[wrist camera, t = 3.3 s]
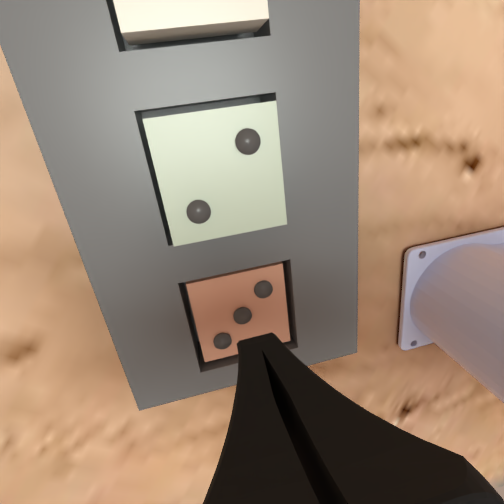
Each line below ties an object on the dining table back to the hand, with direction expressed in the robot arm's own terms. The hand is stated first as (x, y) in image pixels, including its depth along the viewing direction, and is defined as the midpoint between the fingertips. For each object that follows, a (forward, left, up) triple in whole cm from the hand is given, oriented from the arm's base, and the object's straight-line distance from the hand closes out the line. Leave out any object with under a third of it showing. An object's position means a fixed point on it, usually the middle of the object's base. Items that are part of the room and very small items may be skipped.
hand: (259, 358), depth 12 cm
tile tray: (0, -6, -7) cm, 10 cm away
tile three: (0, +1, -6) cm, 6 cm away
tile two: (0, -6, -5) cm, 8 cm away
